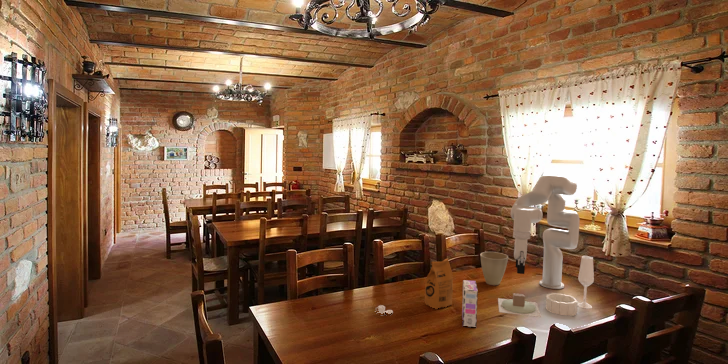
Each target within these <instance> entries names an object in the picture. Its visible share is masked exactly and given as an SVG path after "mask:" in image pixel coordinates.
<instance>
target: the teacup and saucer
mask: <svg viewBox="0 0 728 364" xmlns="http://www.w3.org/2000/svg"><path fill="white" fill-rule="evenodd" d="M377 309H378V310H377ZM376 311H379V312H377V313H376V314H378V313H381V314H383V313H384V314H385V312H386V313H388V314H391V313H392V314H393V313H394V311H393V310H392V309H387V310H386V306H385V305H381V304H380V305H378V306H377V307H375V312H376ZM392 314H391V315H392Z"/></svg>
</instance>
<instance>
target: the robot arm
mask: <svg viewBox="0 0 728 364" xmlns="http://www.w3.org/2000/svg"><path fill="white" fill-rule="evenodd" d="M577 187H578V185H577V182H576V179H573V178H571V177H569V176H567V175H558V174H557V175H556V174H543V175H541V177H540V178H539V179H538V181H537V182H536V184H535V186H534V188H533V189H532V191H529V192H527V193H525V194H522V195H521V196H519V197H518V198H517V199H516V200H515V201H514V202H513V205H512V206H511V209H510V217H511V219H512V220H513V228H512V229H513V232H512V238H513V239H514V249H513V257H514V260H515V268H516V274H520V275H524V274H525V270H526V267H525V266H526V265H525V263H526V261H527V254H528V252H527V251H528V240H531V233H532V232H531V231H532V230H531V229H532V224H537V223H539V222H540V221H541V220H542V219H543V217H544V216H543V211H542V209H541V208H539V207H536V206H538V205H542V204H545V203H546V202H547V215H546V219H547V220H546V221H547V224H548V225H549V226H552V227H557V228H547V229H545V230H544V231H543V233H542V241H543V263H542V279H541V280H539V282H538V283H539V285H540V286H541V287H544V288H547V289H554V290H562V289H563V288H565V284H564V283H563V282H562V275H563V274H562V272H563V258H564V257H563V252H562V250H561V249H566V250H567V249H568V250H575V249H577V247H578V243H579V237H580V221H581V219H580V215H579V213H578V212H577V211H574V210H568V209H566V200H565V197H564V195H565V196H572V195H574V194H575V193H576V192H577V189H578V188H577ZM559 228H562V229H559ZM564 229H567V230H564ZM560 248H561V249H560Z"/></svg>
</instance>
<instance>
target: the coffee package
mask: <svg viewBox="0 0 728 364" xmlns="http://www.w3.org/2000/svg"><path fill="white" fill-rule="evenodd" d="M430 265H431V268H430V270H429V273H428V274H427V276H426V279H425V283H424V284H425V286H424V303H425V305H426V306H428V307H429V306H430V307H429V308H431V307H432V308H431V309H433V308H435V309H434V310H439V309H442V308H444V307H445V308H447V306H448V307H450V306H452V305H453V289H454V281H453V280H454V279H453V271H452V267H451V264H450V261H449V258H445V259H443V260H442V261H430ZM438 308H439V309H438Z"/></svg>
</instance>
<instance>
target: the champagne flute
mask: <svg viewBox="0 0 728 364" xmlns="http://www.w3.org/2000/svg"><path fill="white" fill-rule="evenodd" d="M579 265H580V266H579V270H578V271H579V273H578V278H577V280H578V282H579V284H581V285H582V286H583V299H582V302H577V307H578V308H582V309H592V308H593V306H592V305H591V304H589V303H588V302H587V289H588V287H589V286H591V285H592V284H593V283H594V281H595V278H594V277H595V275H594V274H595V273H594V257H593V256H588V255H582V256H581V259H580V264H579Z"/></svg>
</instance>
